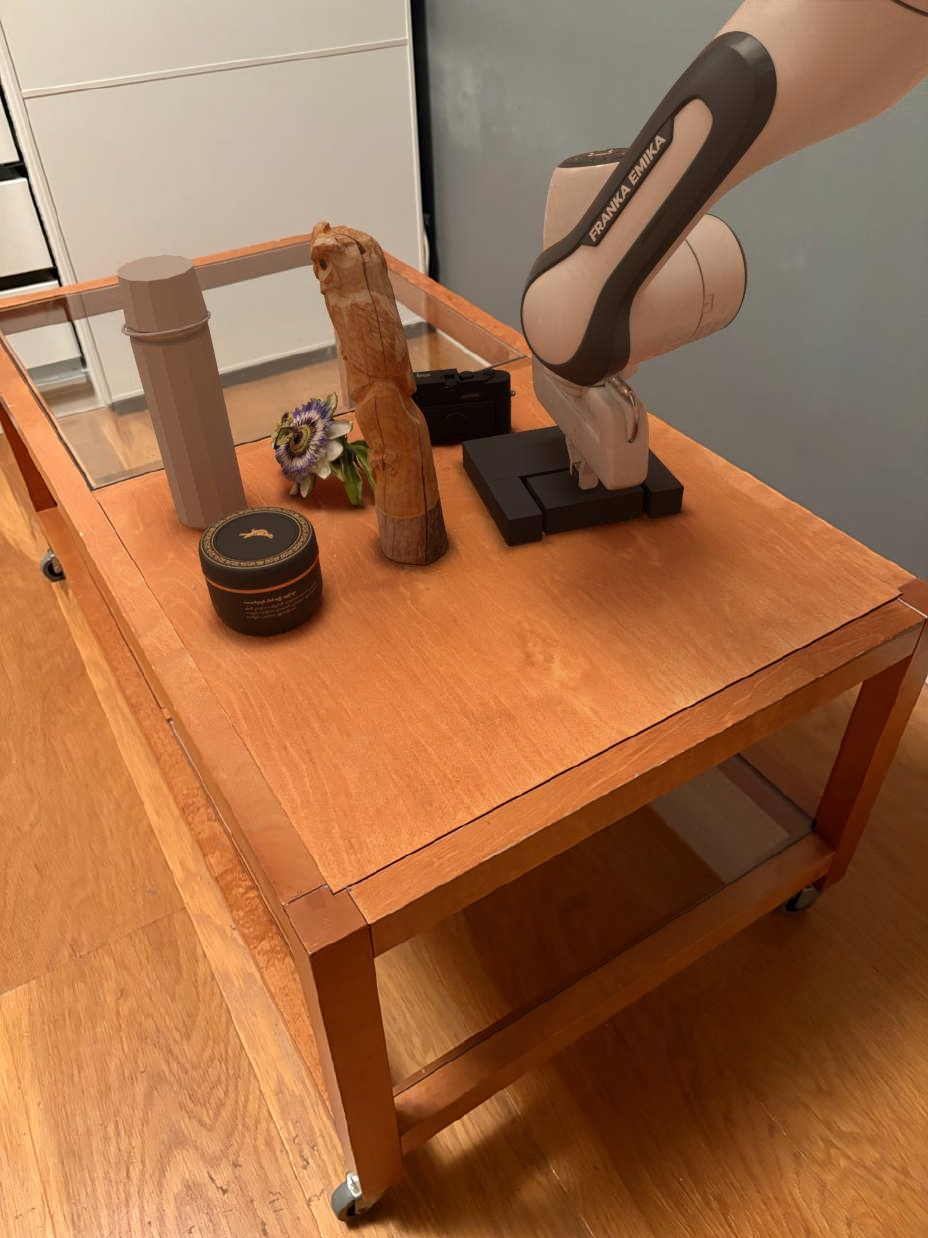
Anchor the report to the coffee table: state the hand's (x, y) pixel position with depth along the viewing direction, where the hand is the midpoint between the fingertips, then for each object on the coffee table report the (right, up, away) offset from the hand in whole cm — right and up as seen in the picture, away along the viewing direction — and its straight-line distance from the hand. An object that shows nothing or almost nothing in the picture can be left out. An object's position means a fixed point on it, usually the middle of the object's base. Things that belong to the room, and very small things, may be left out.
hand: (583, 481), depth 93 cm
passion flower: (-26, +1, +8) cm, 27 cm away
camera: (-13, +8, +16) cm, 22 cm away
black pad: (0, -3, +2) cm, 3 cm away
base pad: (-1, 0, +5) cm, 5 cm away
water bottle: (-38, -3, +5) cm, 38 cm away
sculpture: (-18, -7, -2) cm, 19 cm away
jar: (-29, -13, -8) cm, 33 cm away
